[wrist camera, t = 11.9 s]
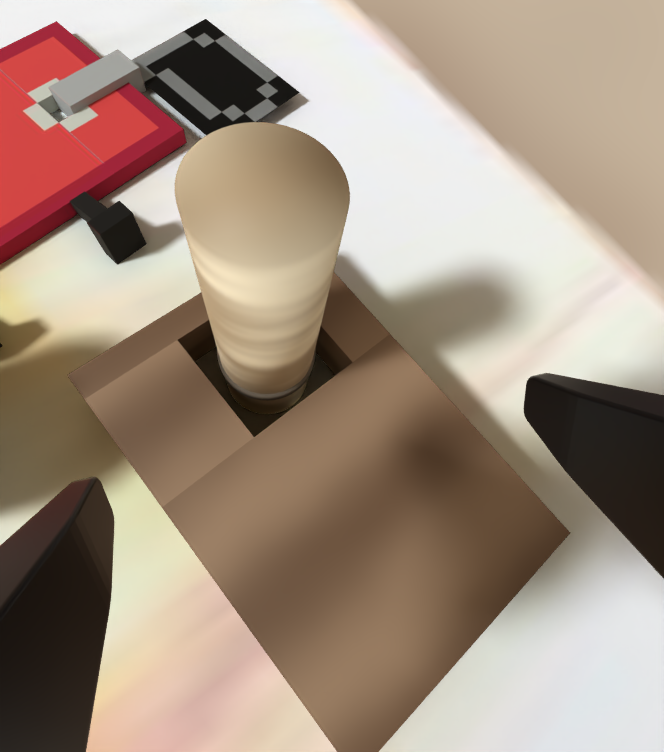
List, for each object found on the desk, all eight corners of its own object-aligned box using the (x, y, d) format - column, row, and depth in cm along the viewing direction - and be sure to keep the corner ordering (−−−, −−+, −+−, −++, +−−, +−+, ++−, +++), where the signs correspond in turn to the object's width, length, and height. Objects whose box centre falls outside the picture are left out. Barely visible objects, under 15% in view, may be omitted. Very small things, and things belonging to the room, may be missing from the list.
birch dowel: (326, 382, 23) (390, 208, 11) (259, 433, 22) (245, 300, 10) (274, 321, 24) (279, 95, 12) (206, 367, 22) (132, 167, 10)
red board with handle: (320, 122, 29) (160, -4, 31) (323, 80, 26) (149, -54, 29) (-160, 470, 19) (-336, 252, 22) (-229, 460, 17) (-421, 213, 19)
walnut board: (531, 533, 22) (570, 533, 19) (342, 740, 18) (355, 777, 15) (295, 267, 25) (298, 232, 22) (93, 396, 21) (66, 375, 18)
